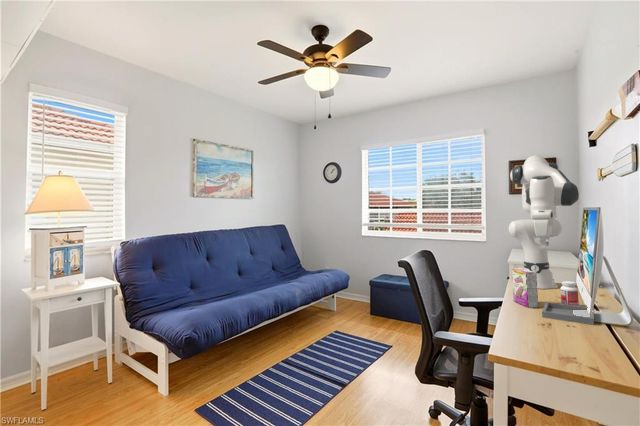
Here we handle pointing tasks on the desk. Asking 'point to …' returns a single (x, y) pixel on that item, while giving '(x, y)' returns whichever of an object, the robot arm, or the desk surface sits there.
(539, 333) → the desk surface
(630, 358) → the desk surface
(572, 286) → the pill bottle
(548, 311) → the grey tray
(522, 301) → the candy bar box
